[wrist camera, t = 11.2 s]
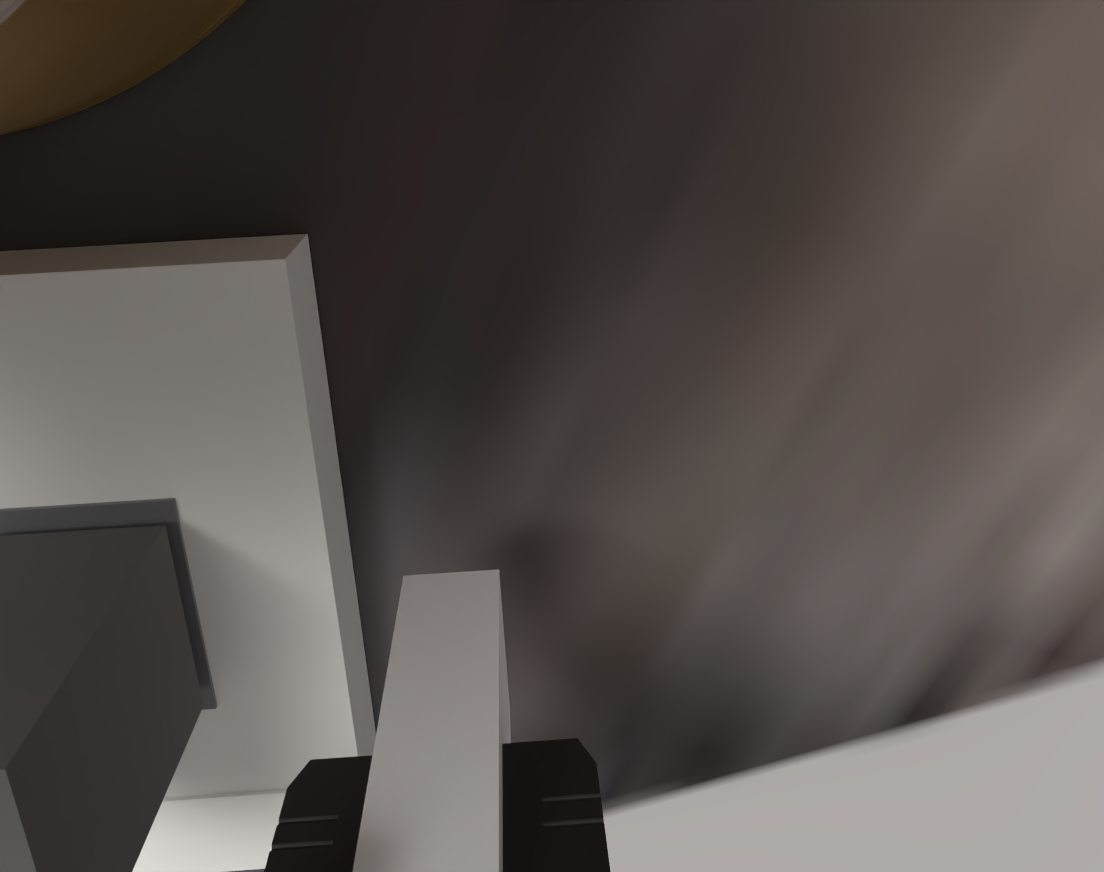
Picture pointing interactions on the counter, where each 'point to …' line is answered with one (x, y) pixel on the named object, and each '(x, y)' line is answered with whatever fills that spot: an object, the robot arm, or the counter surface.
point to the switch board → (200, 498)
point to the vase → (90, 50)
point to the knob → (89, 695)
